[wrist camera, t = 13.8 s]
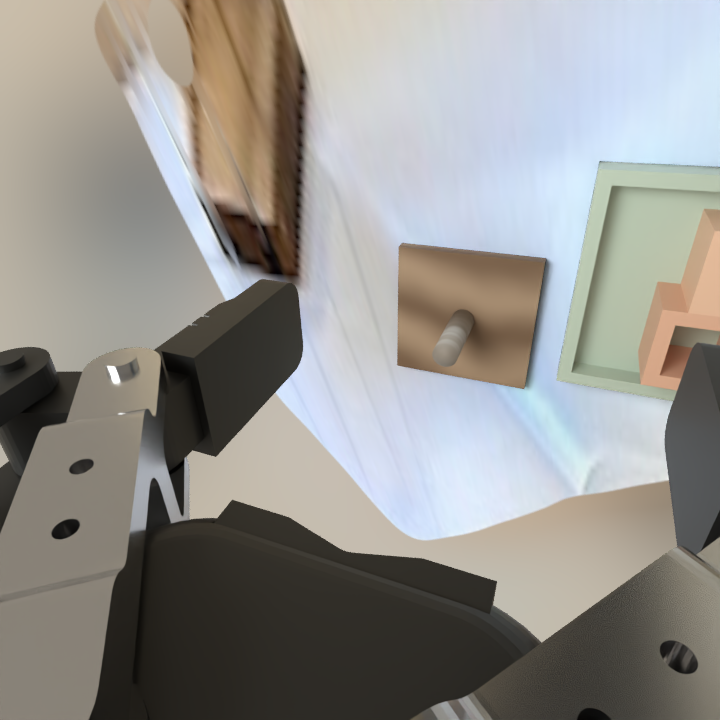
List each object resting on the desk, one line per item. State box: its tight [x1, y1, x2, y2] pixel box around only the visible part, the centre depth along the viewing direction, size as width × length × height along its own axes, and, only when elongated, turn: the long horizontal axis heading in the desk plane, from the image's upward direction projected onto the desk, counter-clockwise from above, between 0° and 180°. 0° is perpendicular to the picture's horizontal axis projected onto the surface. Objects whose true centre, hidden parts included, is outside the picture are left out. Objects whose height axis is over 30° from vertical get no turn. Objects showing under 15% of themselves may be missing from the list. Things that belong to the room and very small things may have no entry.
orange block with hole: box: [638, 209, 720, 390], centre depth 36 cm, size 12×6×5 cm, turn 2°
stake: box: [397, 243, 546, 389], centre depth 45 cm, size 12×12×8 cm
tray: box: [557, 161, 720, 401], centre depth 38 cm, size 17×17×3 cm
